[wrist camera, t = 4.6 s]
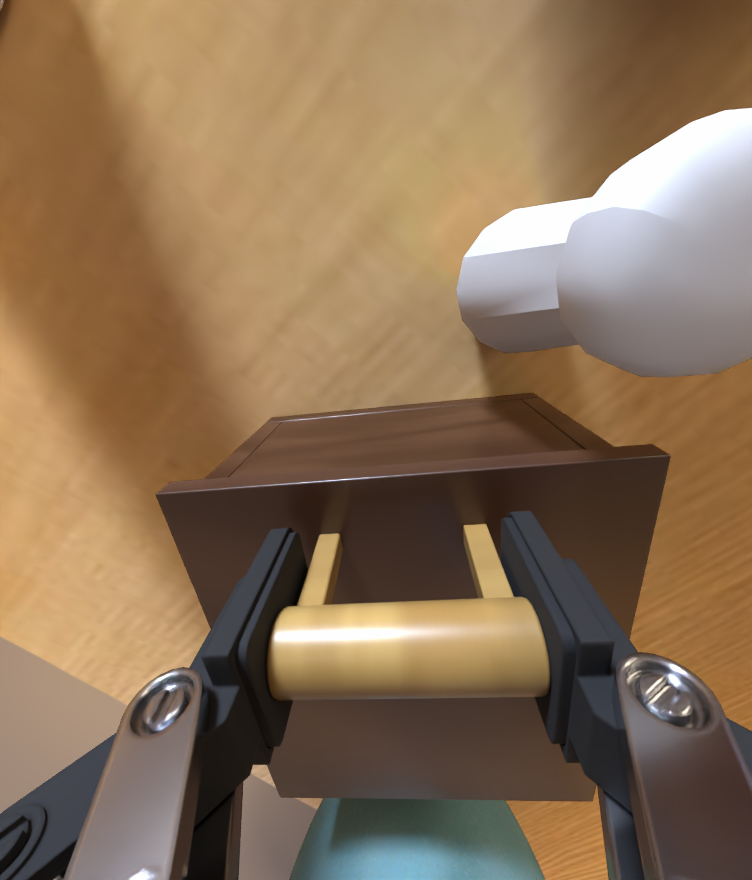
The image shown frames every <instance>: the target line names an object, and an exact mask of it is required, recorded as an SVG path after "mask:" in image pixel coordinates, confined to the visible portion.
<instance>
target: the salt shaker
mask: <svg viewBox="0 0 752 880" xmlns="http://www.w3.org/2000/svg"><path fill="white" fill-rule="evenodd" d="M456 292H457V297H458V302H459V307H460V312H461V317H462V320H463V322H464V323H465V324H466V325H467V327H468V328H469V329H470V330H471V332H472V333H473V334H474V335H475V337H476V338H477V339H478V340H479V342H481V343H483V344H485V345H487V346H490V347H492V348H494V349H497V350H499V351H501V352H504V353H518V352H532V351H539V350H545V349H550V348H556V347H563V346H572V345H580V346H581V347H582V348H583V350H584V351H585V352H586V353H587V354H589V355H592V356H594V357H596V358H598V359H600V360H603V361H605V362H607V363H609V364H611V365H614V366H616V367H618V368H620V369H622V370H625V371H628V372H630V373H633V374H635V375H638V376H642V377H675V376H690V375H705V374H717V373H719V372H721V371H724V370H726V369H728V368H731V367H733V366H735V365H737V364H740V363H742V362H744V361H747V360H749V359H751V358H752V108H746V109H735V110H725V111H722V112H719V113H716V114H713V115H711V116H708V117H705V118H702V119H699V120H696V121H694V122H691V123H689V124H688V125H686V126H684V127H683V128H681V129H679V130H678V131H676V132H675V133H673V134H671V135H670V136H668V137H667V138H665V139H663V140H662V141H660V142H659V143H657V144H655V145H654V146H652V147H650V148H649V149H647V150H646V151H644V152H642V153H641V154H639V155H638V156H636V157H634V158H633V159H631V160H630V161H628V162H627V163H626V164H624V165H623V166H622V167H620V168H619V169H618V170H616V171H615V172H613V173H612V174H611V175H610V176H609V177H608V179H607V180H606V181H605V182H604V184H603V185H602V186H601V187H600V189H599V190H598V191H597V192H596V194H595V195H594V196H593V197H591V198H584V199H578V200H572V201H565V202H559V203H553V204H547V205H540V206H534V207H528V208H521V209H515V210H513V211H511V212H510V213H508V214H507V215H505V216H503V217H502V218H500V219H499V220H497V221H496V222H494V223H492V224H491V225H489V226H488V227H486V228H485V229H484V230H483V231H482V232H481V234H480V235H479V237H478V238H477V239H476V241H475V242H474V244H473V245H472V247H471V248H470V249H469V251H468V252H467V254H466V255H465V256H464V258H463V262H462V267H461V271H460V276H459V281H458V285H457V290H456Z"/></svg>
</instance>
